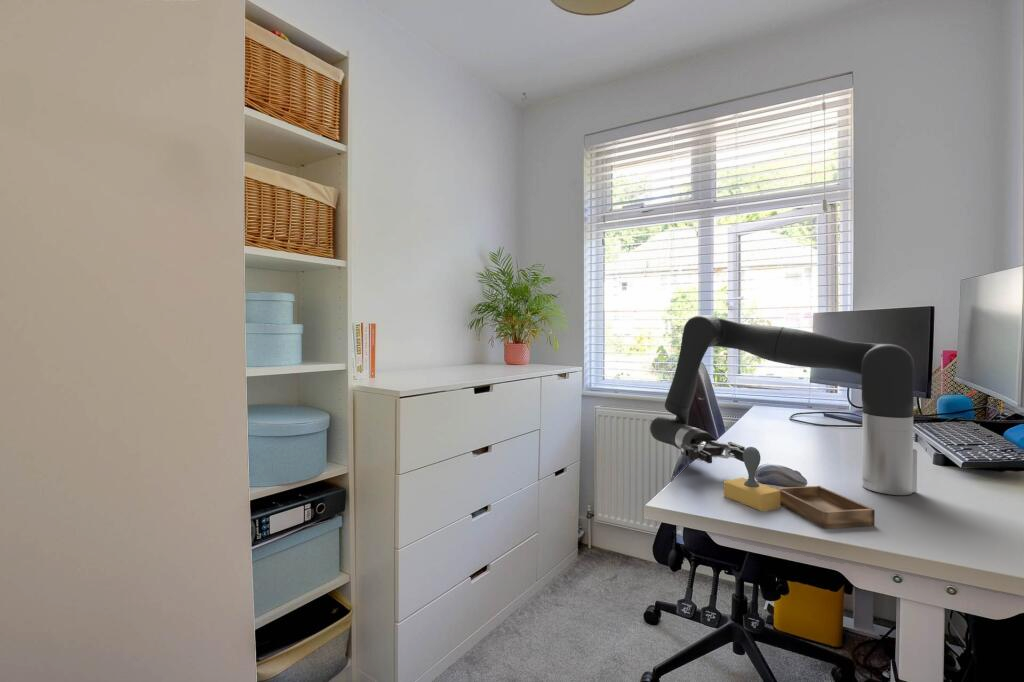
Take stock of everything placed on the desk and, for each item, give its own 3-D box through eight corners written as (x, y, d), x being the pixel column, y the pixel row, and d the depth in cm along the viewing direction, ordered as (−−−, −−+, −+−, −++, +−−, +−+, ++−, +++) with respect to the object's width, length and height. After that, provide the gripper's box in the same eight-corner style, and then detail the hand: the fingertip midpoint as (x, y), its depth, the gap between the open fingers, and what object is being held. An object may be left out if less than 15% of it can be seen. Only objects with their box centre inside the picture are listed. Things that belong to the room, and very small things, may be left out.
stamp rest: (819, 499, 106) (819, 485, 106) (874, 525, 92) (874, 509, 92) (775, 501, 105) (775, 488, 105) (824, 528, 91) (824, 512, 91)
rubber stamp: (781, 507, 102) (781, 450, 102) (761, 512, 100) (761, 453, 99) (742, 493, 111) (742, 440, 111) (722, 497, 109) (722, 443, 109)
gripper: (669, 429, 130) (699, 443, 114) (720, 427, 131) (756, 441, 115) (669, 457, 130) (699, 475, 114) (720, 455, 131) (756, 472, 115)
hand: (728, 458), depth 114 cm, fingers open, 8 cm apart
